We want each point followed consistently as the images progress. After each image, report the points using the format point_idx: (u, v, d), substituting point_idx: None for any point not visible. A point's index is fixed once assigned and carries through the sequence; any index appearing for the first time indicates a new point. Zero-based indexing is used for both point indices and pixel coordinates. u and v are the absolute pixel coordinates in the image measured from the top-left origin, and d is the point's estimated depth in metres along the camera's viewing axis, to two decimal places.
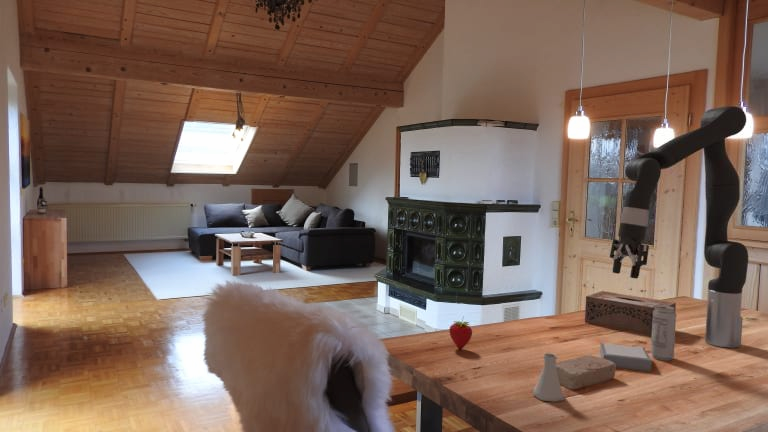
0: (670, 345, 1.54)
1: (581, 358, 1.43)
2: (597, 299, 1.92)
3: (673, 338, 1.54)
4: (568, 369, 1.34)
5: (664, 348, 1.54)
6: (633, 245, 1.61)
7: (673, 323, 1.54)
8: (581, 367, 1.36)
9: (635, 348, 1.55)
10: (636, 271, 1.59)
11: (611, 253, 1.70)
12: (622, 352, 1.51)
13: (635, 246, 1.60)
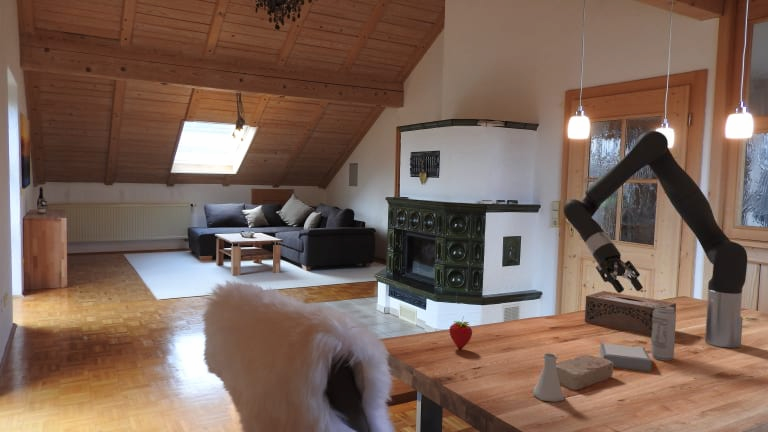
0: (670, 345, 1.54)
1: (579, 358, 1.43)
2: (597, 299, 1.93)
3: (673, 338, 1.54)
4: (570, 369, 1.34)
5: (664, 348, 1.54)
6: None
7: (673, 323, 1.54)
8: (581, 367, 1.36)
9: (635, 348, 1.55)
10: (614, 286, 1.65)
11: None
12: (622, 352, 1.51)
13: None
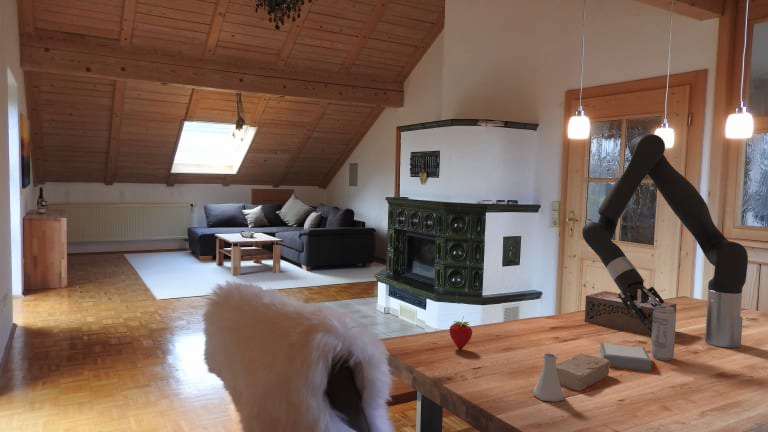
0: (670, 345, 1.54)
1: (576, 357, 1.43)
2: (596, 298, 1.93)
3: (673, 338, 1.54)
4: (573, 370, 1.33)
5: (664, 348, 1.54)
6: None
7: (673, 323, 1.54)
8: (582, 367, 1.36)
9: (635, 348, 1.55)
10: (638, 315, 1.58)
11: None
12: (622, 352, 1.51)
13: None
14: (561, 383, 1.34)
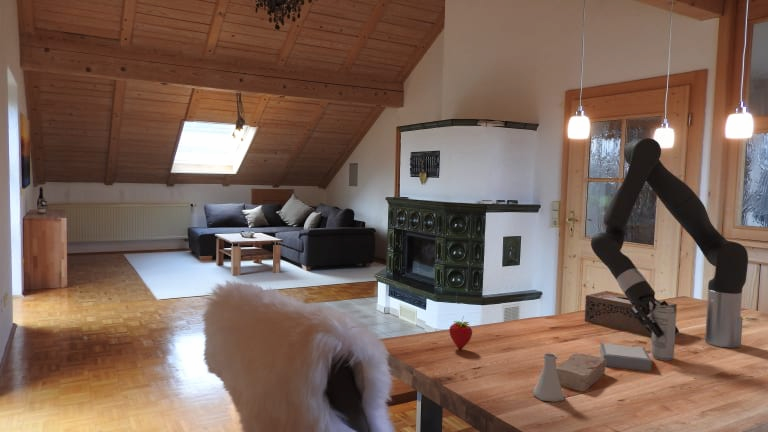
0: (670, 345, 1.54)
1: (573, 357, 1.43)
2: (596, 298, 1.94)
3: (673, 338, 1.54)
4: (576, 371, 1.33)
5: (664, 348, 1.54)
6: None
7: (673, 323, 1.54)
8: (583, 367, 1.36)
9: (635, 348, 1.55)
10: (653, 330, 1.55)
11: None
12: (622, 352, 1.51)
13: None
14: (564, 384, 1.33)
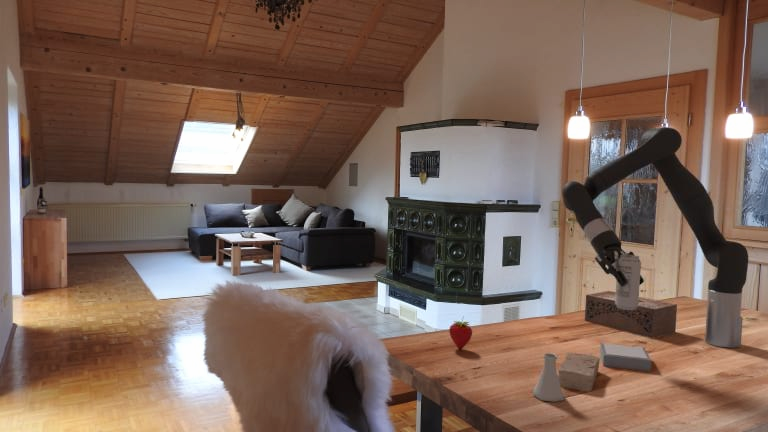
0: (634, 294, 1.49)
1: (569, 357, 1.43)
2: (596, 298, 1.94)
3: (637, 287, 1.50)
4: (580, 371, 1.32)
5: (627, 297, 1.49)
6: None
7: (637, 271, 1.49)
8: (584, 367, 1.36)
9: (635, 348, 1.55)
10: (617, 279, 1.50)
11: None
12: (622, 352, 1.51)
13: None
14: (569, 386, 1.32)
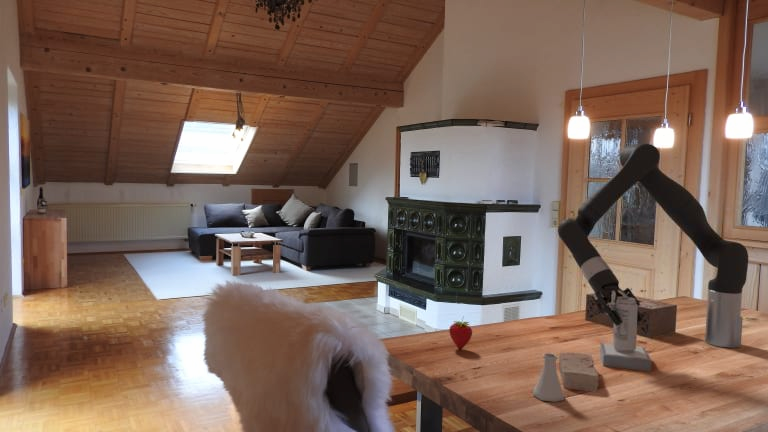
0: (632, 336, 1.50)
1: (565, 357, 1.43)
2: None
3: (635, 330, 1.50)
4: (585, 372, 1.32)
5: (625, 340, 1.50)
6: None
7: (634, 314, 1.49)
8: (584, 367, 1.37)
9: None
10: (612, 318, 1.50)
11: None
12: (622, 352, 1.51)
13: None
14: (576, 387, 1.32)
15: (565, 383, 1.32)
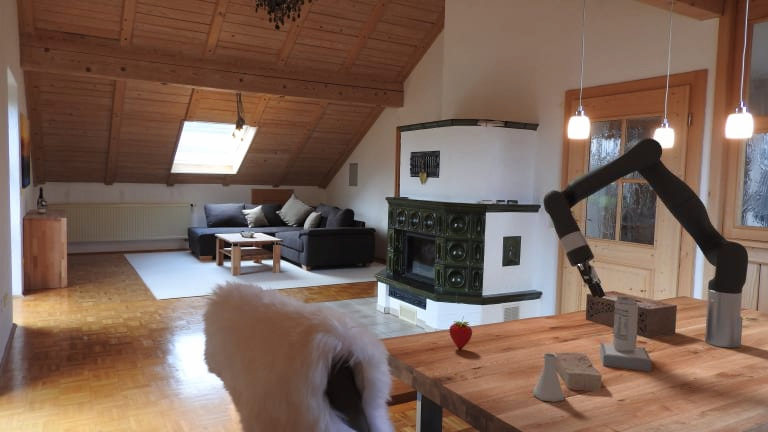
0: (632, 337, 1.50)
1: (562, 358, 1.42)
2: (596, 297, 1.96)
3: (635, 330, 1.50)
4: (589, 372, 1.32)
5: (625, 340, 1.50)
6: None
7: (635, 314, 1.50)
8: (585, 366, 1.37)
9: None
10: (592, 289, 1.61)
11: None
12: None
13: None
14: (580, 388, 1.31)
15: (570, 384, 1.31)
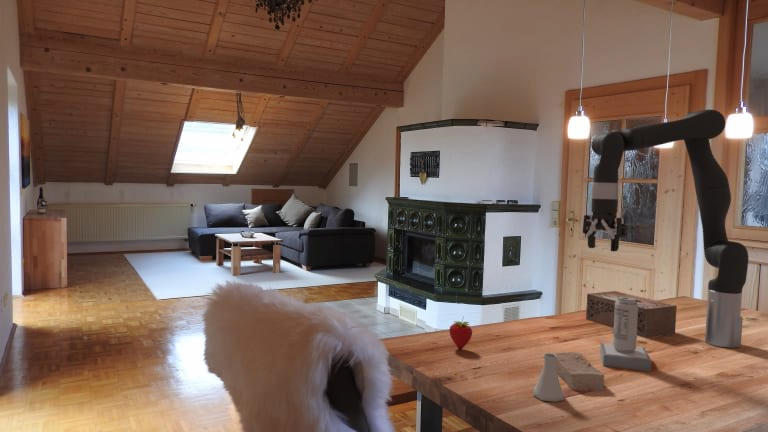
0: (632, 336, 1.50)
1: (560, 358, 1.42)
2: (596, 297, 1.96)
3: (635, 330, 1.50)
4: (591, 372, 1.32)
5: (625, 340, 1.50)
6: (609, 219, 1.63)
7: (635, 314, 1.50)
8: (585, 366, 1.37)
9: None
10: (616, 244, 1.62)
11: (584, 229, 1.72)
12: (622, 352, 1.51)
13: (612, 220, 1.63)
14: (584, 388, 1.31)
15: (574, 385, 1.31)
